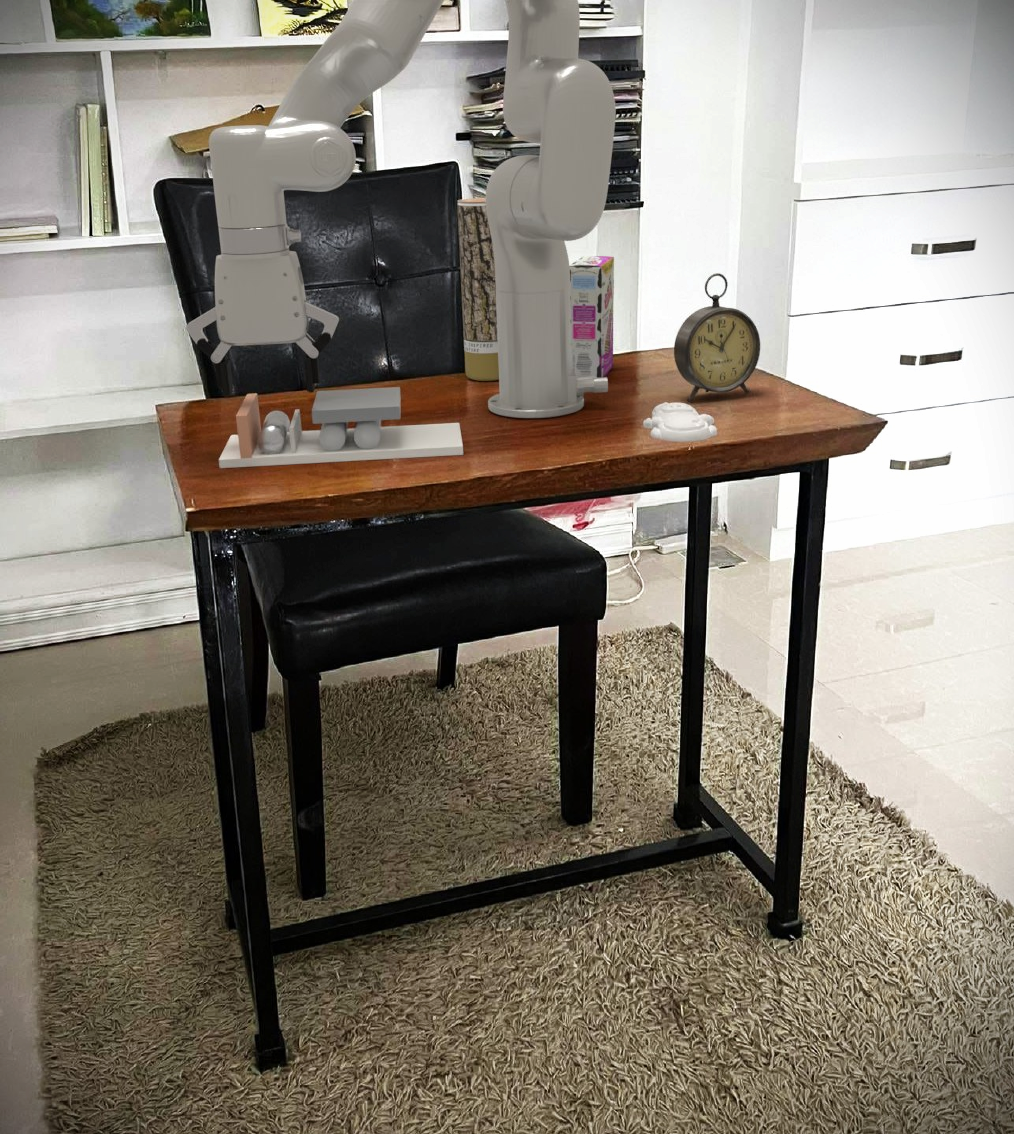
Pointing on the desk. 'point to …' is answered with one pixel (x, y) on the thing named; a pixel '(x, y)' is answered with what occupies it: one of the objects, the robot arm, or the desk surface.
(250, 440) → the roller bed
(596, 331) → the candy bar box
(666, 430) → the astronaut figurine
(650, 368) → the desk surface
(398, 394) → the slab
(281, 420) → the roller
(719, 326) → the alarm clock
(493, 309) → the paper tube
